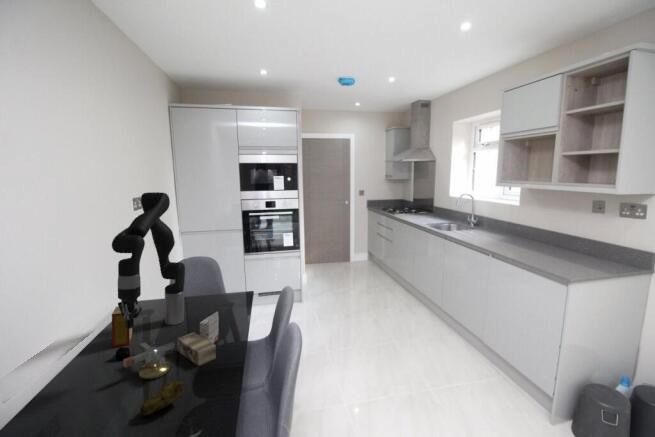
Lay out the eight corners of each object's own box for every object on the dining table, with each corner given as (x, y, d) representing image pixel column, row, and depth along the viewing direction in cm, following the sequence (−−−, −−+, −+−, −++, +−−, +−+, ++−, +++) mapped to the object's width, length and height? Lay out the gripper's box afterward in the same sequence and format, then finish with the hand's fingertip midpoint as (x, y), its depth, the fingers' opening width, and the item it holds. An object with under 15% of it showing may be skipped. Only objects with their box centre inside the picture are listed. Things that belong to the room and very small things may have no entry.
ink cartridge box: (209, 337, 151) (210, 309, 150) (218, 339, 150) (219, 310, 149) (199, 346, 143) (199, 316, 141) (208, 348, 142) (208, 318, 140)
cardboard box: (174, 351, 137) (174, 339, 137) (193, 344, 145) (194, 332, 144) (196, 367, 127) (196, 353, 126) (215, 358, 134) (215, 345, 133)
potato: (142, 404, 104) (142, 382, 104) (184, 395, 110) (184, 374, 109) (139, 421, 97) (139, 398, 96) (183, 410, 102) (184, 388, 102)
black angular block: (142, 355, 134) (142, 345, 134) (131, 364, 127) (131, 354, 127) (114, 353, 134) (114, 344, 134) (102, 363, 127) (101, 353, 127)
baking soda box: (129, 344, 141) (128, 311, 140) (112, 347, 139) (111, 313, 137) (132, 335, 150) (132, 304, 148) (116, 337, 147) (116, 305, 145)
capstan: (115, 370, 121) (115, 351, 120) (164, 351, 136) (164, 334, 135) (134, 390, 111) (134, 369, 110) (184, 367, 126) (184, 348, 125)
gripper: (109, 284, 118) (110, 326, 120) (128, 291, 112) (129, 335, 114) (129, 279, 125) (130, 320, 127) (148, 286, 119) (149, 328, 120)
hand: (129, 327), depth 120 cm, fingers closed
